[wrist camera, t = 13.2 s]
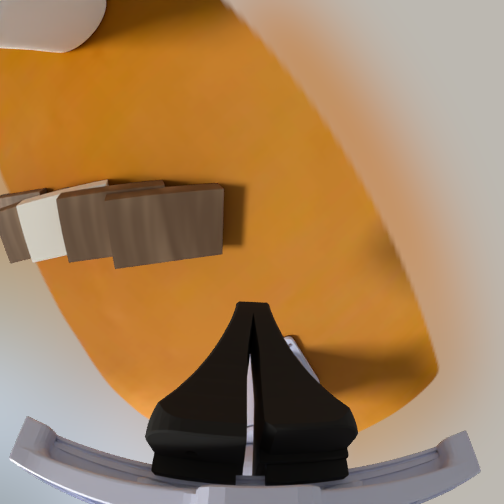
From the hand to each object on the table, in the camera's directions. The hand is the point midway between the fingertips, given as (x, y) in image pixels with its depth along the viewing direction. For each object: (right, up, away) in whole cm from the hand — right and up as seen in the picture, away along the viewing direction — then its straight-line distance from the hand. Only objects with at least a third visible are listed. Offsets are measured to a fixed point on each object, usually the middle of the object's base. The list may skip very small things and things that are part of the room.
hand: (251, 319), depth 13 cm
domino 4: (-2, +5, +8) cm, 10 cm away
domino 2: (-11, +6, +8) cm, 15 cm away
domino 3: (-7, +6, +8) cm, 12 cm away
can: (-14, +22, 0) cm, 26 cm away
